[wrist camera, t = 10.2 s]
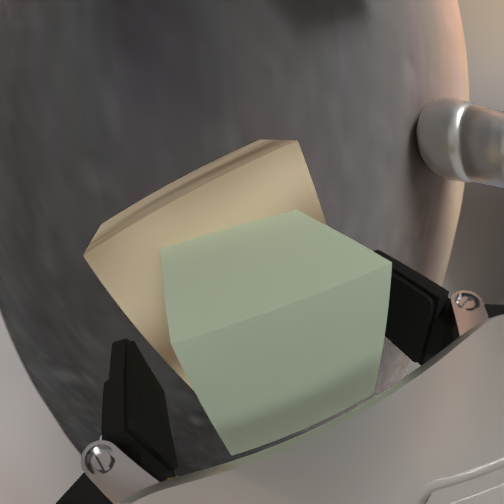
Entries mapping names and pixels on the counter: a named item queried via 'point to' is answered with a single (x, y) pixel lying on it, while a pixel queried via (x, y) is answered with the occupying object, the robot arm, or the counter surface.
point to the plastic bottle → (462, 141)
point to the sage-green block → (276, 324)
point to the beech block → (194, 226)
